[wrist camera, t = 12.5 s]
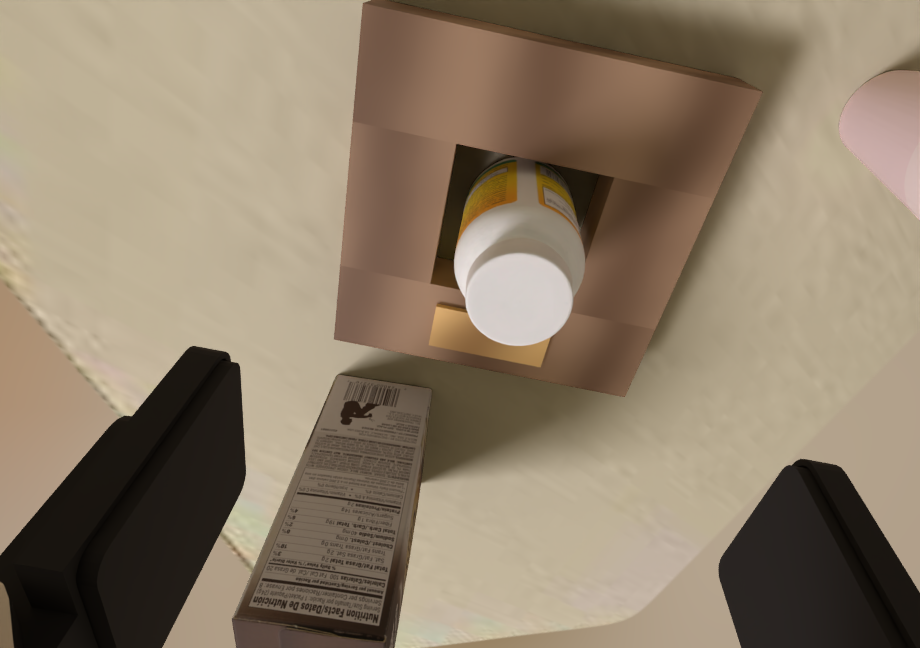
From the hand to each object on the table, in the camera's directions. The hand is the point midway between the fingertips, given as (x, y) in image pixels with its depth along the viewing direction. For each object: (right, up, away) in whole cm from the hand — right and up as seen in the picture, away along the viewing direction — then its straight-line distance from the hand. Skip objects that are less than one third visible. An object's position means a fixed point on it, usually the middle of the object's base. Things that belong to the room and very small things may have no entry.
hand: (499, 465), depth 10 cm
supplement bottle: (+2, +8, +19) cm, 21 cm away
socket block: (+2, +8, +19) cm, 21 cm away
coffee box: (-6, -5, +28) cm, 30 cm away
